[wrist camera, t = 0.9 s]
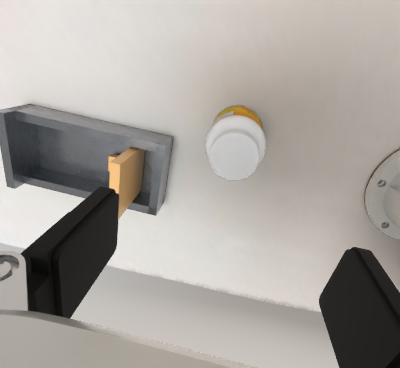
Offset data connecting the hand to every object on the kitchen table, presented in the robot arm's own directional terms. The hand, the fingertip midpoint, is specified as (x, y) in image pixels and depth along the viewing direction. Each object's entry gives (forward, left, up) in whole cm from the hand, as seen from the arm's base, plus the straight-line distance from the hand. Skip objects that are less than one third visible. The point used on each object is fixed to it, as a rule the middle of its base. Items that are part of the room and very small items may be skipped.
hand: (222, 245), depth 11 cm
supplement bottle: (0, 0, -21) cm, 21 cm away
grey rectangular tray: (+16, +7, -20) cm, 27 cm away
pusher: (+12, +7, -20) cm, 24 cm away
